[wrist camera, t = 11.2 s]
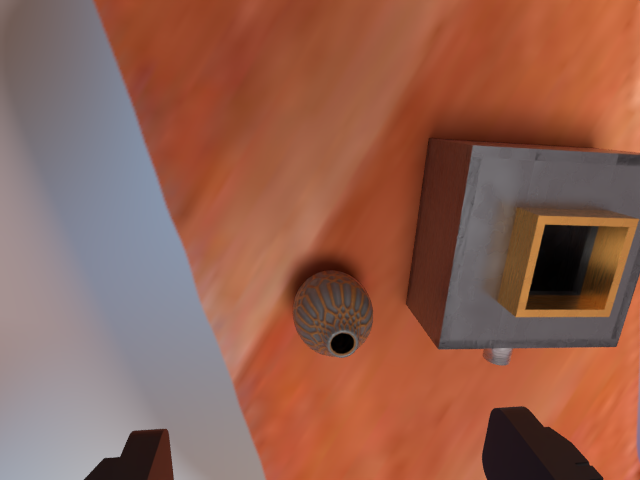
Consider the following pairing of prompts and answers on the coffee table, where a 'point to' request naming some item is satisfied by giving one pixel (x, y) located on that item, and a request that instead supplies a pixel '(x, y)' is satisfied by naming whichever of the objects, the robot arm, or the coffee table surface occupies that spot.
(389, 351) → the coffee table surface
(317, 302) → the vase
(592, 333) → the grey box with opening
